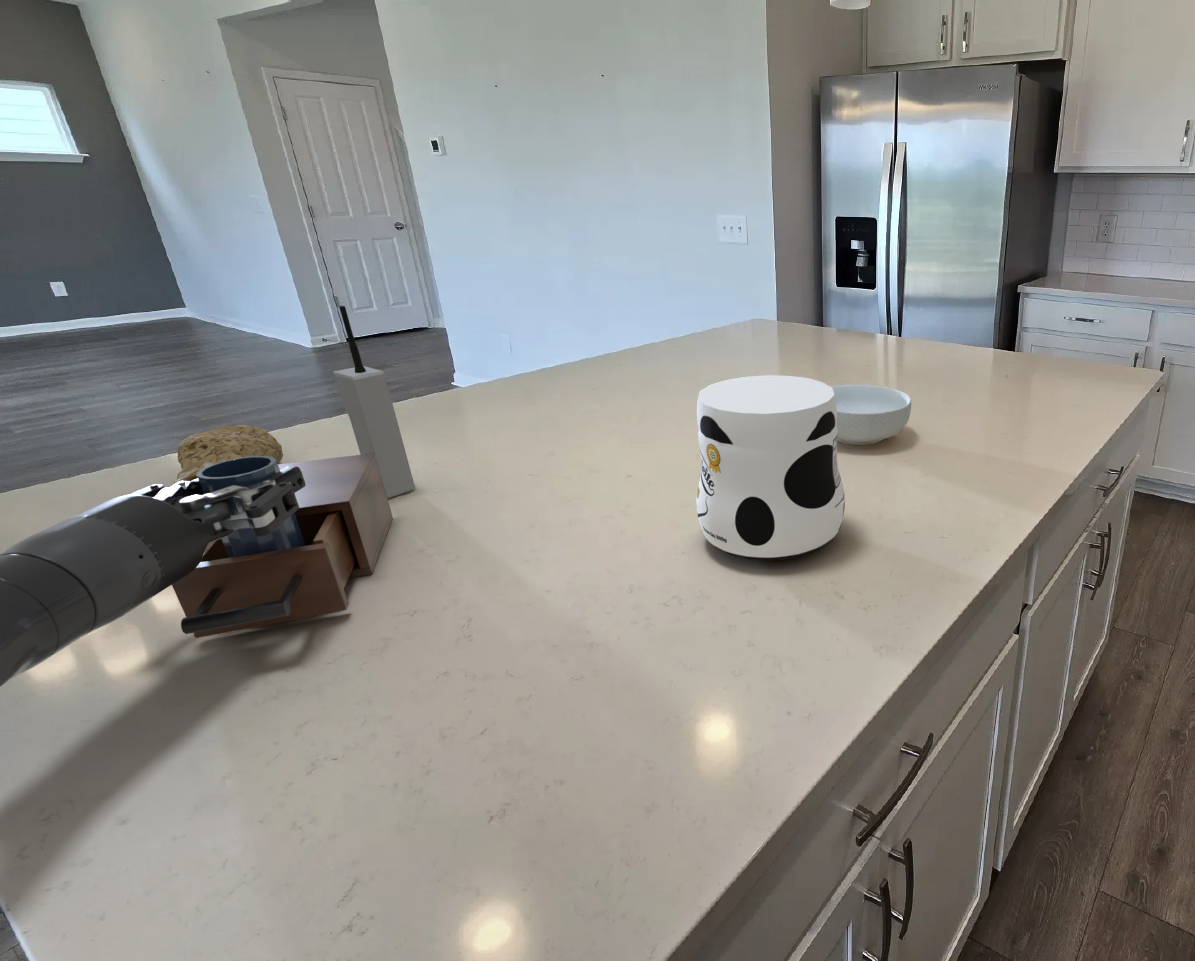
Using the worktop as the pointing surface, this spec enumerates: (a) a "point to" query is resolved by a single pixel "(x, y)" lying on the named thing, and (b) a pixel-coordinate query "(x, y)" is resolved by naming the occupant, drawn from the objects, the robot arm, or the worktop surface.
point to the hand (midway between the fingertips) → (263, 476)
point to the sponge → (224, 448)
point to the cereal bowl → (869, 413)
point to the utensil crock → (245, 475)
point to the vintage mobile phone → (374, 418)
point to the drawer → (269, 581)
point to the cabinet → (348, 501)
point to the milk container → (769, 466)
